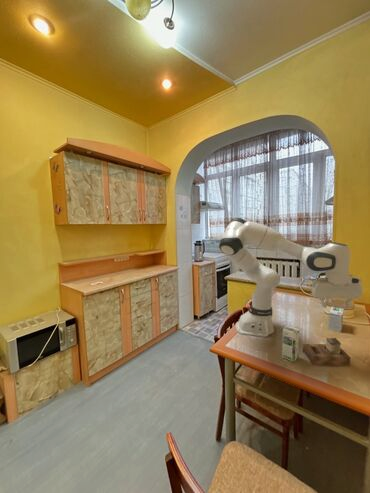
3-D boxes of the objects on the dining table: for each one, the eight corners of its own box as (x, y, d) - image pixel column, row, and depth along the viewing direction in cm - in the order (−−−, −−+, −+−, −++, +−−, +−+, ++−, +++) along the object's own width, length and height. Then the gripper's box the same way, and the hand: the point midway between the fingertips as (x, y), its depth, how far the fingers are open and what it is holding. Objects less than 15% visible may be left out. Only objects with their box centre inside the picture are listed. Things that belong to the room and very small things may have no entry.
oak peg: (330, 360, 103) (331, 342, 102) (325, 355, 107) (326, 337, 106) (339, 360, 102) (340, 342, 101) (334, 355, 106) (335, 338, 105)
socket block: (312, 364, 101) (312, 356, 100) (302, 351, 110) (303, 343, 110) (349, 365, 99) (350, 357, 98) (336, 351, 109) (337, 344, 108)
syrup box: (281, 357, 106) (282, 329, 104) (286, 351, 110) (287, 324, 108) (294, 362, 102) (295, 333, 100) (298, 356, 106) (299, 328, 104)
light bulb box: (329, 322, 138) (330, 306, 137) (342, 325, 134) (344, 308, 133) (327, 329, 130) (328, 312, 129) (341, 332, 126) (342, 315, 125)
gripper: (316, 279, 98) (314, 309, 100) (365, 279, 96) (363, 309, 98) (309, 276, 104) (308, 303, 106) (355, 275, 102) (353, 304, 104)
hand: (335, 306), depth 102 cm, fingers open, 8 cm apart
